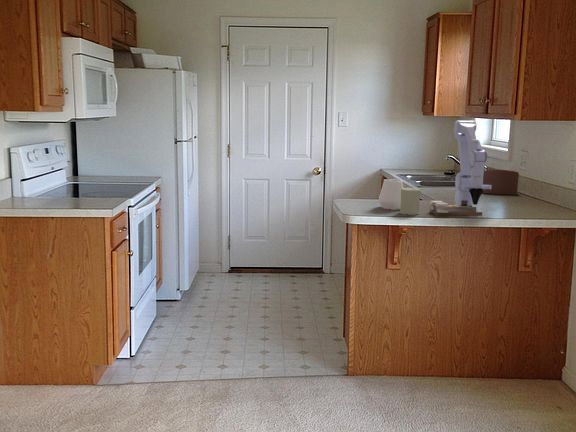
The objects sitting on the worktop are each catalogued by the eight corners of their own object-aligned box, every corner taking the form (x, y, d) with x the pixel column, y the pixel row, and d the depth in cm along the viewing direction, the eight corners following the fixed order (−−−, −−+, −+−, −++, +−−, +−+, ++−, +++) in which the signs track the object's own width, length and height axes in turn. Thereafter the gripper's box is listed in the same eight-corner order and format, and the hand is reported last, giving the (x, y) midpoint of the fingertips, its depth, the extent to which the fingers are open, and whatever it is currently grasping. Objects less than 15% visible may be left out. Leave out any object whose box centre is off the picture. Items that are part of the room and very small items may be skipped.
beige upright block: (406, 215, 301) (408, 189, 298) (395, 211, 309) (397, 187, 307) (423, 214, 304) (424, 189, 302) (412, 210, 312) (413, 186, 310)
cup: (402, 211, 311) (404, 182, 308) (375, 209, 315) (376, 180, 313) (407, 207, 323) (409, 179, 321) (381, 204, 328) (382, 177, 325)
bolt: (445, 209, 308) (446, 200, 307) (465, 209, 309) (466, 199, 309) (448, 210, 305) (448, 201, 304) (468, 210, 307) (468, 200, 306)
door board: (429, 212, 310) (430, 200, 309) (472, 211, 314) (473, 200, 313) (438, 215, 301) (438, 204, 300) (482, 215, 304) (483, 203, 303)
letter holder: (517, 195, 372) (519, 170, 369) (481, 193, 375) (483, 169, 372) (514, 192, 382) (516, 168, 379) (479, 191, 384) (481, 167, 382)
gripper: (466, 177, 301) (464, 205, 303) (495, 177, 303) (493, 205, 306) (459, 175, 307) (457, 203, 310) (488, 175, 310) (486, 203, 312)
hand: (474, 204), depth 308 cm, fingers closed
